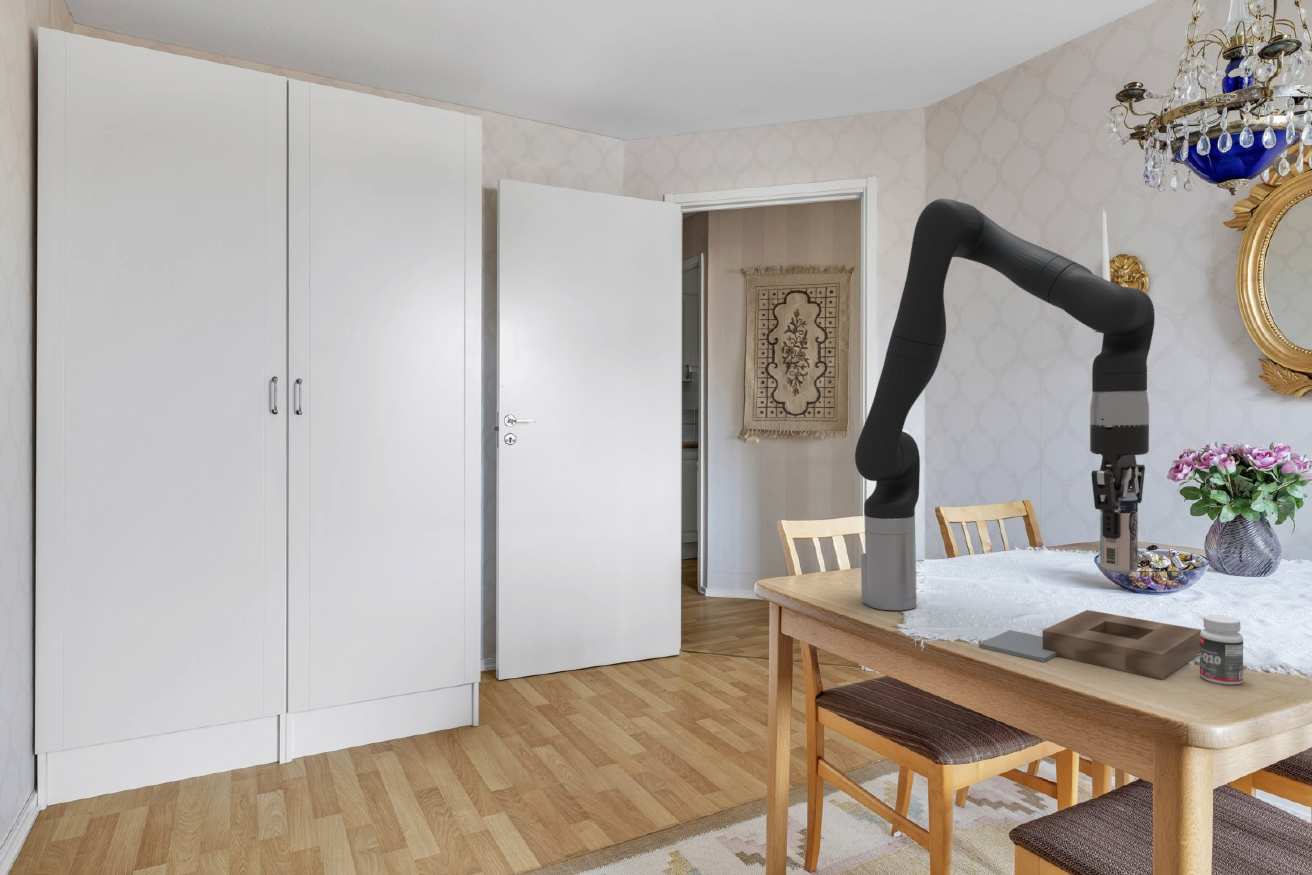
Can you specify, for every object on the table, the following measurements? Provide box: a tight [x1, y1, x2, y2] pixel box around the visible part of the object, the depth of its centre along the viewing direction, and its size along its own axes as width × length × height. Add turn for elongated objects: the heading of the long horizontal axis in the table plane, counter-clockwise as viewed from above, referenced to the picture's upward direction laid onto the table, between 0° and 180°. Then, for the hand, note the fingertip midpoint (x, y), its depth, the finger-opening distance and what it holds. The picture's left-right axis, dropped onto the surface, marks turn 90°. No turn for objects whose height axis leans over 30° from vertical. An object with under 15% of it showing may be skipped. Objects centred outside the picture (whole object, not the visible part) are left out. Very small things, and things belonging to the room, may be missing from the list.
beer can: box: [1099, 490, 1139, 574], centre depth 115 cm, size 5×5×12 cm
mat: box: [978, 629, 1057, 663], centre depth 120 cm, size 10×10×1 cm
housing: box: [1042, 609, 1202, 681], centre depth 116 cm, size 16×16×4 cm
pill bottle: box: [1199, 614, 1244, 686], centre depth 104 cm, size 5×5×8 cm
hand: (1118, 534), depth 115 cm, fingers closed on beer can, 4 cm apart
